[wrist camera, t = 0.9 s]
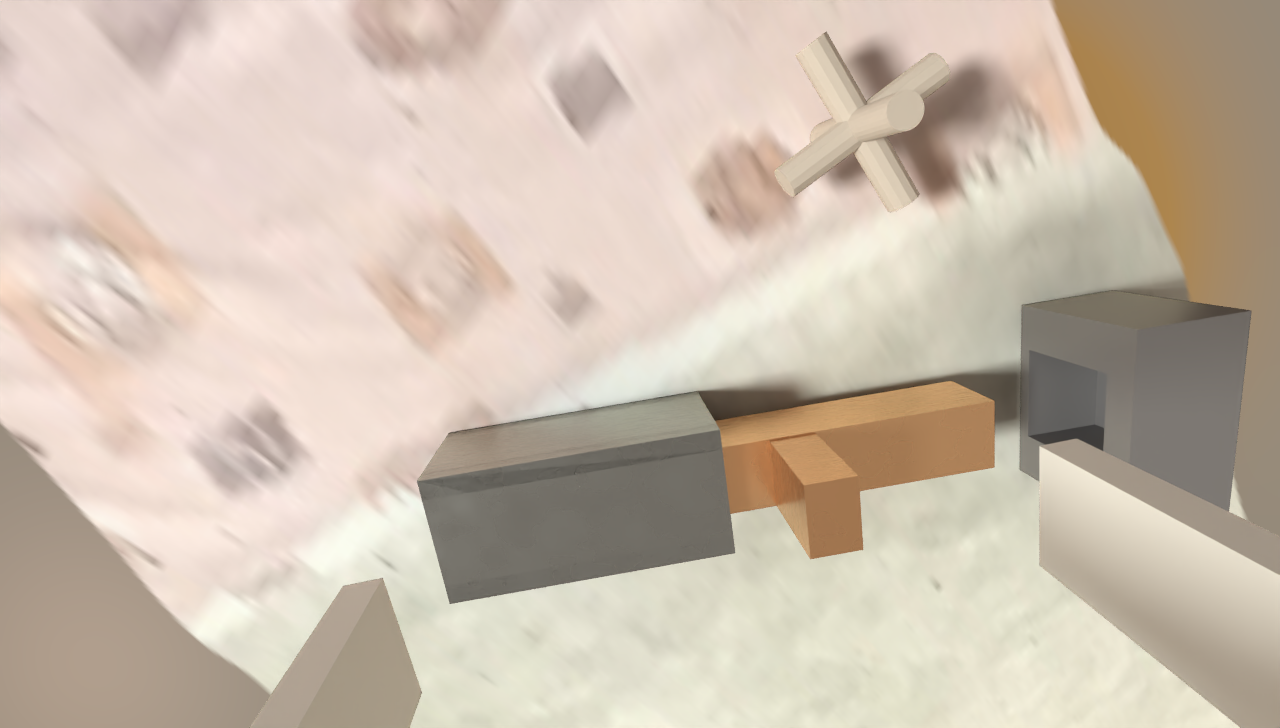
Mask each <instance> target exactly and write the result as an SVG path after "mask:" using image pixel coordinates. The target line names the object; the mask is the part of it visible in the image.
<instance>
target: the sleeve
mask: <svg viewBox="0 0 1280 728" xmlns="http://www.w3.org/2000/svg"><path fill="white" fill-rule="evenodd" d="M417 483H418V487H419V490H420V494H421V498H422V502H423V505H424V509H425V513H426V517H427V520H428V524H429V528H430V532H431V535H432V539H433V543H434V546H435V550H436V554H437V558H438V561H439V565H440V569H441V573H442V576H443V580H444V584H445V587H446V591H447V595H448V599H449V602H450V604H452V603H458V602H463V601H469V600H474V599H480V598H486V597H491V596H497V595H503V594H508V593H514V592H519V591H525V590H531V589H536V588H542V587H547V586H553V585H559V584H564V583H570V582H576V581H581V580H587V579H592V578H598V577H604V576H609V575H615V574H620V573H626V572H632V571H637V570H643V569H649V568H654V567H660V566H665V565H671V564H677V563H682V562H688V561H693V560H699V559H705V558H710V557H716V556H721V555H727V554H733V553H735V547H734V539H733V531H732V523H731V515H730V507H729V499H728V491H727V483H726V475H725V467H724V459H723V450H722V442H721V434H720V429H719V427H718V426H717V424H716V422H715V420H714V419H713V417H712V415H711V414H710V412H709V410H708V409H707V407H706V405H705V404H704V402H703V400H702V398H701V397H700V395H699V393H698V392H697V391H696V392H690V393H684V394H678V395H672V396H666V397H660V398H654V399H648V400H642V401H636V402H630V403H624V404H619V405H613V406H607V407H601V408H595V409H589V410H583V411H577V412H571V413H565V414H559V415H553V416H547V417H541V418H535V419H529V420H523V421H517V422H511V423H505V424H499V425H493V426H487V427H481V428H475V429H469V430H463V431H457V432H451V433H449V434H448V435H447V437H446V438H445V440H444V441H443V443H442V444H441V446H440V447H439V449H438V450H437V452H436V453H435V455H434V456H433V458H432V459H431V461H430V462H429V464H428V465H427V467H426V468H425V470H424V471H423V473H422V474H421V476H420V477H419V479H418V480H417Z"/></svg>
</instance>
